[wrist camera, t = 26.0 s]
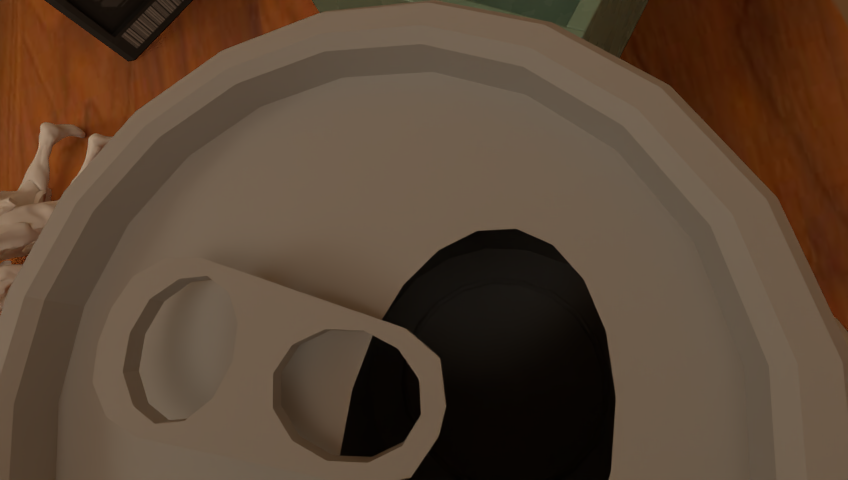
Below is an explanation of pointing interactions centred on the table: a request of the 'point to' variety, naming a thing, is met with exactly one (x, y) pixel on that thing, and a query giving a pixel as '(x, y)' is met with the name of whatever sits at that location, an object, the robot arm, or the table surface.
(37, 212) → the figurine
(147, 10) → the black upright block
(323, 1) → the green box
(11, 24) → the table surface
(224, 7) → the table surface
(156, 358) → the can
